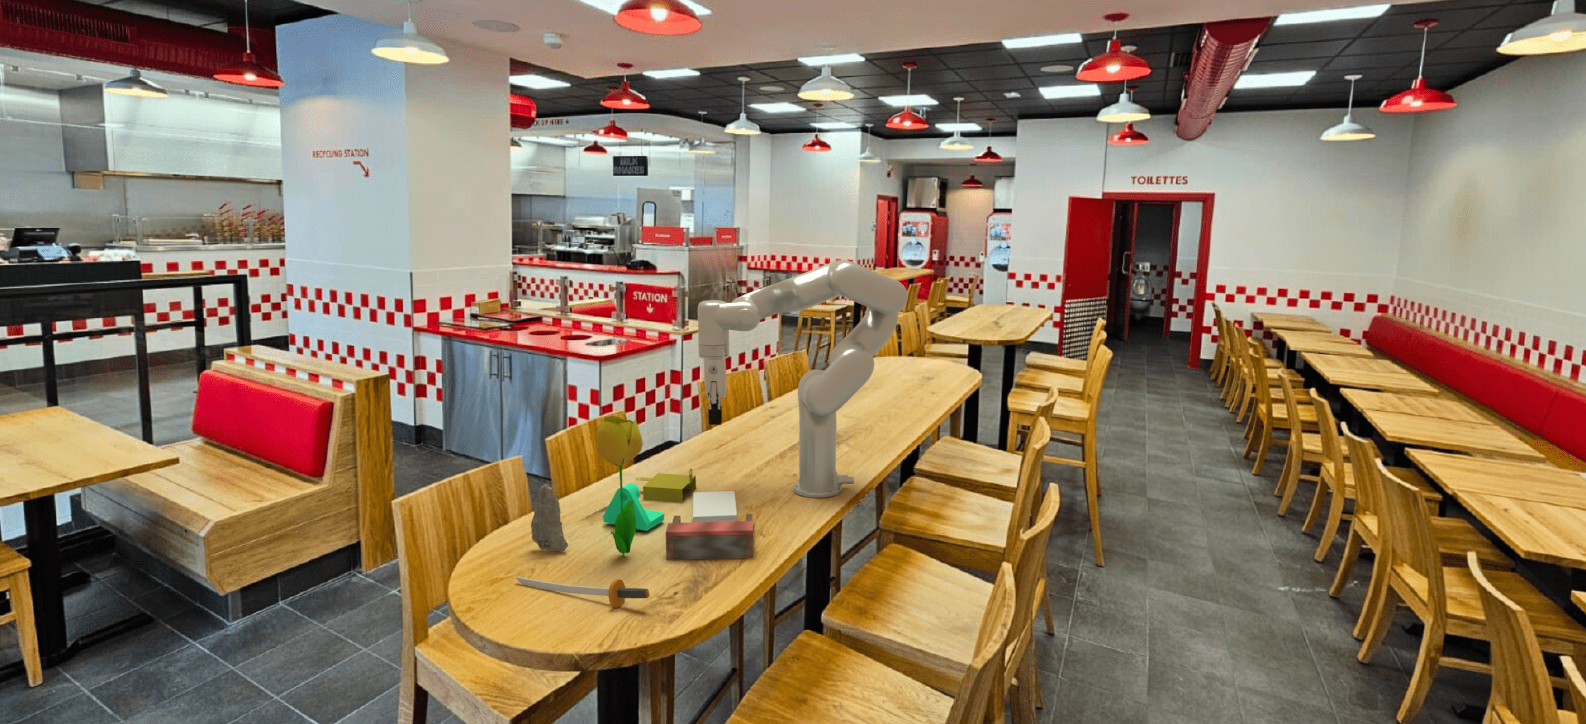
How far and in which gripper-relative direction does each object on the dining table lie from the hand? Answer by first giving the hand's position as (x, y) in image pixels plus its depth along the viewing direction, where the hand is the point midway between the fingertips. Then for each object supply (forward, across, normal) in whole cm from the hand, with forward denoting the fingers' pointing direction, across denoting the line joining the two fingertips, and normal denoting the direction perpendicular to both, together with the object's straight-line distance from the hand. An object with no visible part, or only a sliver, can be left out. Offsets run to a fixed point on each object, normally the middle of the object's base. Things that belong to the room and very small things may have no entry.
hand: (715, 422), depth 198 cm
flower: (+19, -36, +18) cm, 45 cm away
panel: (+20, -14, 0) cm, 24 cm away
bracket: (+20, +2, +14) cm, 24 cm away
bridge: (+19, -29, 0) cm, 35 cm away
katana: (+20, -53, +24) cm, 62 cm away
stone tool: (+19, -32, +34) cm, 51 cm away
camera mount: (+20, -18, +18) cm, 32 cm away
